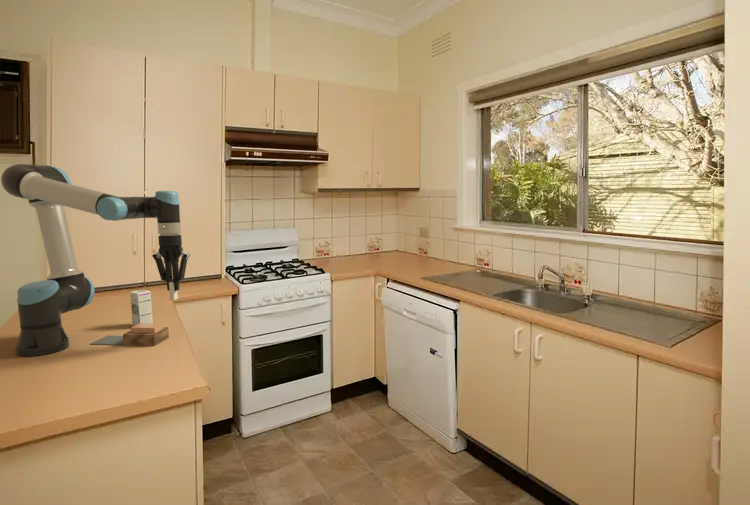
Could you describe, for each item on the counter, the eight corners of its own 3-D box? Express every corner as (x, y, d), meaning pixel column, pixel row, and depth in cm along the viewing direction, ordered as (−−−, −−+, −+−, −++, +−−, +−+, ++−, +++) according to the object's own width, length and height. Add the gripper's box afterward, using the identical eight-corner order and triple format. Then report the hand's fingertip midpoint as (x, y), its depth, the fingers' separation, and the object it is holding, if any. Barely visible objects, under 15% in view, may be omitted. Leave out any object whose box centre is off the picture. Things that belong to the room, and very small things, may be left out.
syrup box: (153, 324, 194) (151, 290, 192) (139, 328, 189) (137, 293, 187) (145, 322, 197) (143, 289, 195) (131, 326, 192) (129, 291, 190)
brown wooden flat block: (123, 345, 167) (123, 334, 167) (139, 336, 177) (138, 326, 177) (154, 345, 167) (153, 335, 166) (168, 337, 176) (168, 327, 176)
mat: (89, 344, 168) (89, 343, 168) (107, 336, 178) (107, 335, 178) (124, 345, 167) (124, 344, 167) (140, 336, 177) (140, 336, 177)
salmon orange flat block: (130, 332, 169) (130, 327, 168) (140, 328, 175) (140, 323, 174) (154, 333, 168) (154, 328, 168) (163, 328, 174) (163, 323, 174)
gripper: (146, 235, 163) (151, 301, 166) (182, 235, 162) (186, 301, 165) (157, 233, 170) (162, 297, 173) (192, 233, 169) (196, 297, 172)
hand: (174, 299), depth 169 cm, fingers closed
